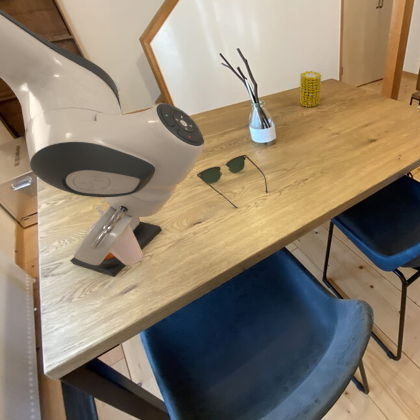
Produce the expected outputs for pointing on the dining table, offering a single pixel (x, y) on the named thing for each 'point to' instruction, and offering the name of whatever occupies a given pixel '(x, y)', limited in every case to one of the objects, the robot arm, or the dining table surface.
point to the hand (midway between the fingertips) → (110, 231)
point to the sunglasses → (234, 166)
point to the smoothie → (125, 246)
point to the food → (310, 88)
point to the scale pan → (135, 223)
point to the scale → (114, 265)
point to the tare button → (109, 256)
